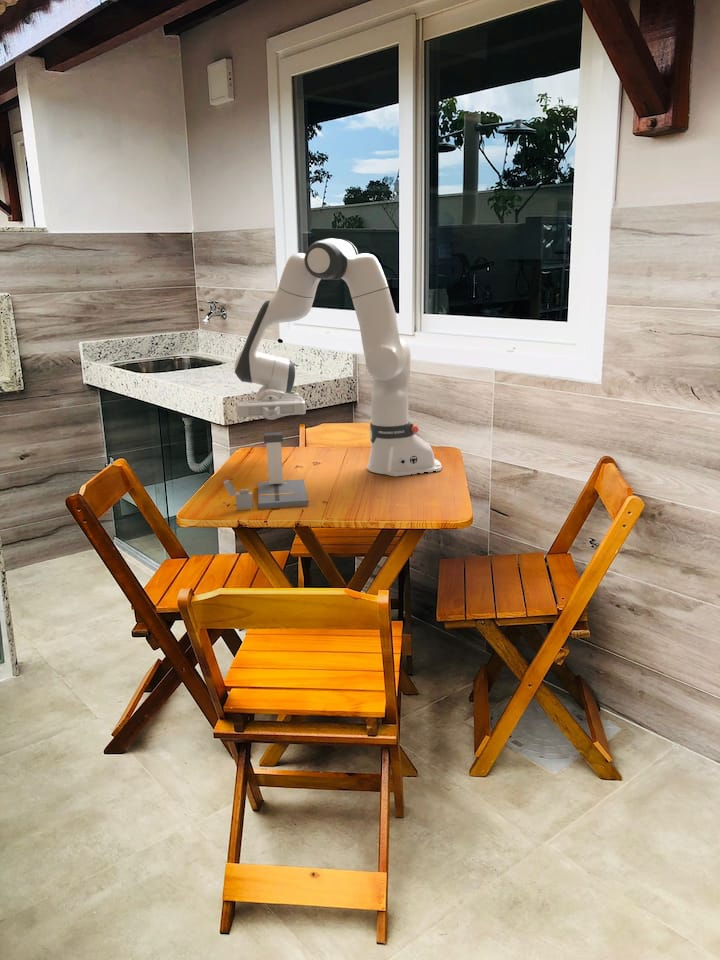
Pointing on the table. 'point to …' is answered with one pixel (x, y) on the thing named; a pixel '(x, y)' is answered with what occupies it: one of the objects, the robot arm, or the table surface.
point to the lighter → (240, 496)
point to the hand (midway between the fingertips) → (271, 413)
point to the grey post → (274, 456)
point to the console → (282, 494)
